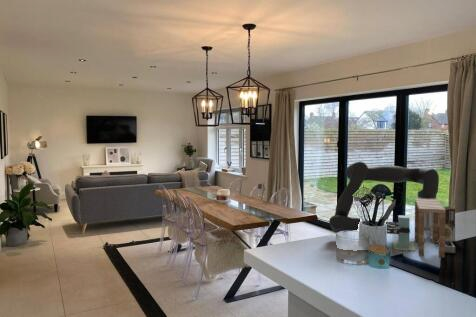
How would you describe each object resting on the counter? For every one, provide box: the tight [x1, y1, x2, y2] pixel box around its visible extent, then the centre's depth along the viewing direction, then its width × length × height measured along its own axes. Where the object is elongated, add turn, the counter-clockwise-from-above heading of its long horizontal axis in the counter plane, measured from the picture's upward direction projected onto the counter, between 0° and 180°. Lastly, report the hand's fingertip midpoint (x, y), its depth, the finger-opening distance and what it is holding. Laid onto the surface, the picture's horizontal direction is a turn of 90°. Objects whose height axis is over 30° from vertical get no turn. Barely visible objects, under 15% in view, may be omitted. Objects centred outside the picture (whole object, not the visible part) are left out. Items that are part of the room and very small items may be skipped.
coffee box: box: [430, 205, 456, 242], centre depth 179 cm, size 9×6×16 cm
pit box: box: [445, 241, 456, 255], centre depth 164 cm, size 9×4×3 cm, turn 158°
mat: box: [392, 240, 416, 252], centre depth 171 cm, size 12×9×1 cm
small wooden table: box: [414, 198, 446, 258], centre depth 166 cm, size 23×10×21 cm, turn 158°
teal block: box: [397, 214, 410, 247], centre depth 170 cm, size 5×5×14 cm
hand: (409, 228), depth 169 cm, fingers open, 6 cm apart
